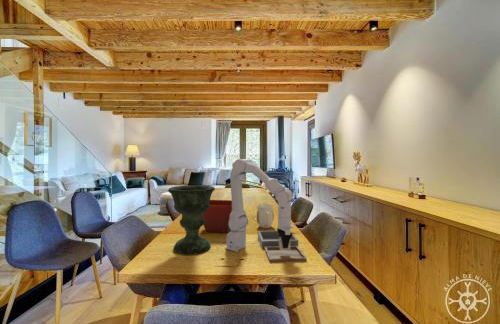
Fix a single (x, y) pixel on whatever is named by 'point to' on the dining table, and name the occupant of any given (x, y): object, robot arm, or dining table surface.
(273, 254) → the tray
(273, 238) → the bin
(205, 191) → the goblet
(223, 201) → the plant pot
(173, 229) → the dining table surface
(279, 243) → the block
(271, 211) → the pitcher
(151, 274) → the dining table surface
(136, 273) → the dining table surface
